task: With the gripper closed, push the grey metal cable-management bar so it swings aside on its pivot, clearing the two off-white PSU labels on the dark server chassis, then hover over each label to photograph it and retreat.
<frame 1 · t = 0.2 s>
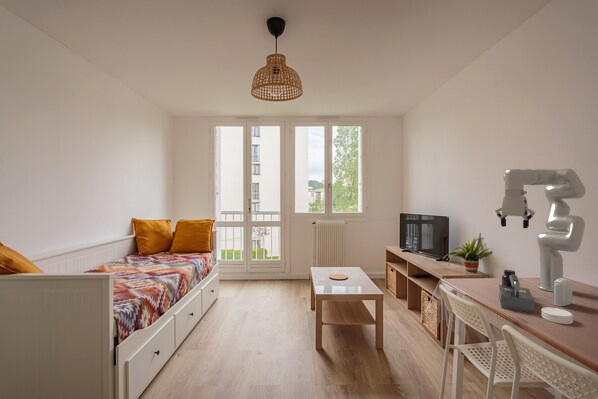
hand: (514, 227, 145), 36 cm above the table, tool pointing down, fingers open, 9 cm apart
photo printer: (562, 304, 136), on the table
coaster: (556, 320, 120), on the table
server chassis: (515, 304, 137), on the table
supplement bottle: (509, 293, 153), on the table
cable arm: (514, 280, 139), point 11 cm above the table, hinge at 0.0°
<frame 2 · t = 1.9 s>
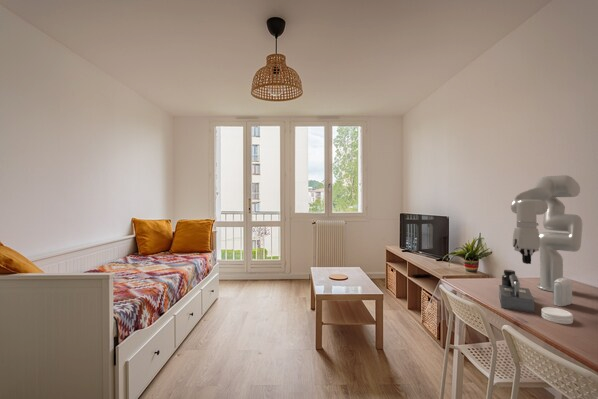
hand: (526, 263, 138), 20 cm above the table, tool pointing down, fingers closed
nothing on the table moved.
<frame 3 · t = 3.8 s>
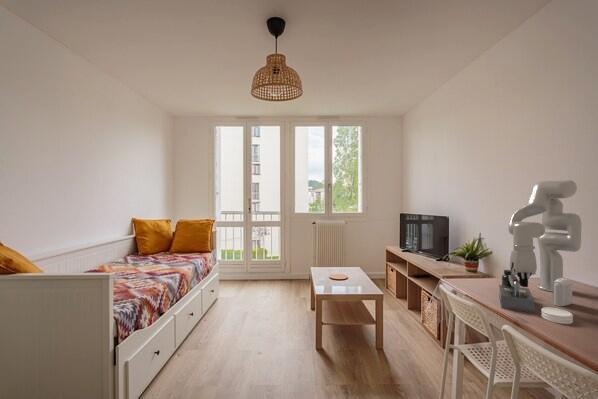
hand: (523, 286, 139), 8 cm above the table, tool pointing down, fingers closed
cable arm: (513, 279, 139), point 11 cm above the table, hinge at 1.5°, touching gripper
everything else where it was.
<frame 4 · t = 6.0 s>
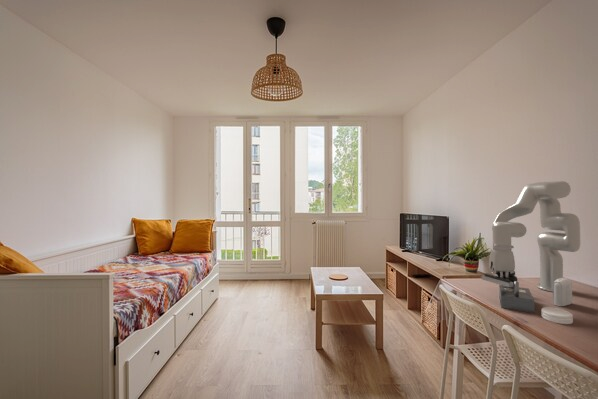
hand: (502, 284, 142), 8 cm above the table, tool pointing down, fingers closed
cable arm: (496, 279, 140), point 11 cm above the table, hinge at 50.2°, touching gripper
everything else where it was.
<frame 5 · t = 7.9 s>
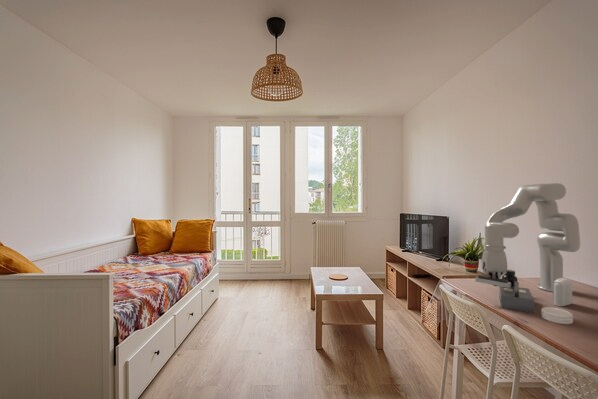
hand: (495, 285, 141), 8 cm above the table, tool pointing down, fingers closed
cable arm: (492, 280, 139), point 11 cm above the table, hinge at 73.5°, touching gripper
everything else where it was.
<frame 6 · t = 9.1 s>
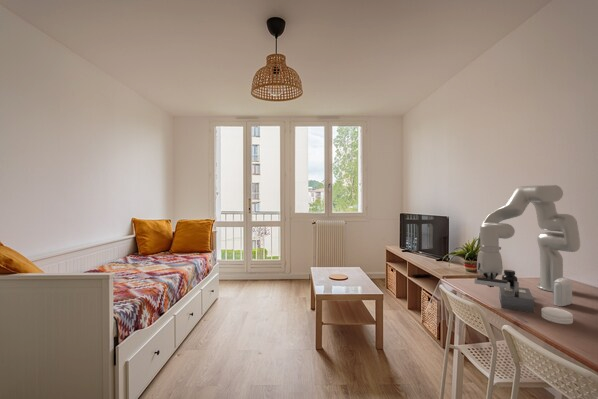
hand: (490, 286, 140), 8 cm above the table, tool pointing down, fingers closed
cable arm: (491, 282, 137), point 11 cm above the table, hinge at 87.6°, touching gripper
everything else where it was.
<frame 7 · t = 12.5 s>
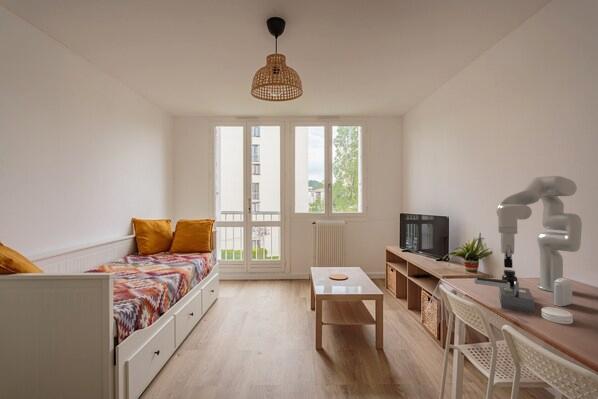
hand: (508, 267, 140), 17 cm above the table, tool pointing down, fingers closed
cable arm: (491, 282, 137), point 11 cm above the table, hinge at 87.7°
everything else where it was.
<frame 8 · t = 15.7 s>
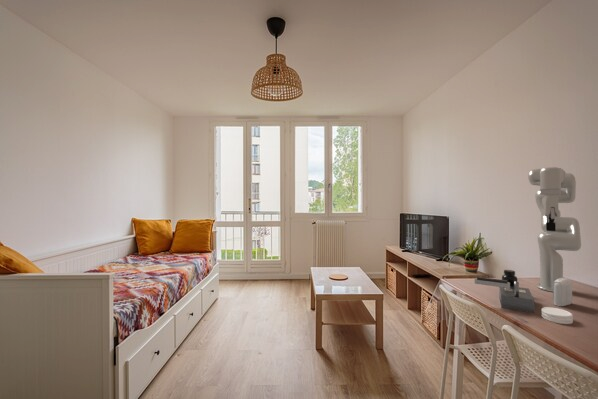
hand: (550, 230, 138), 35 cm above the table, tool pointing down, fingers closed
nothing on the table moved.
at the end: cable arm at +88° (first picture: +0°) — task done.
